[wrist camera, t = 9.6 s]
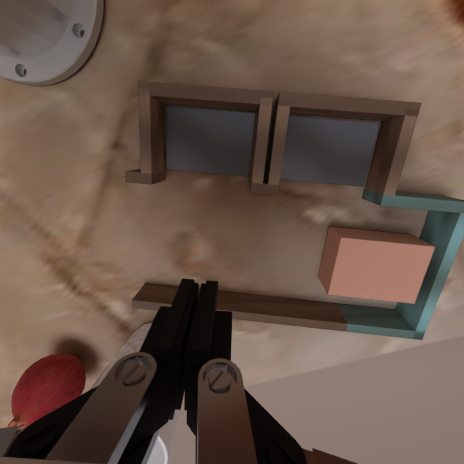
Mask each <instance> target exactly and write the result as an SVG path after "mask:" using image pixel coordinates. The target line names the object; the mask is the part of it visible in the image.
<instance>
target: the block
mask: <svg viewBox="0 0 464 464" xmlns="http://www.w3.org/2000/svg"><path fill="white" fill-rule="evenodd" d="M434 249H435V246H433V245H431V244H429V243H427V242H425V241H423V240H421V239H419V238H417V237H415V236H413V235H411V234H402V233H392V232H381V231H371V230H360V229H350V228H339V227H329V229H328V234H327V239H326V243H325V248H324V252H323V257H322V262H321V266H320V271H319V276H318V278H319V279H320V281H321V283H322V285H323V286H324V288H325V290H326V292H327V294H328V295H338V296H347V297H356V298H366V299H375V300H385V301H394V302H404V303H413V304H415V301H416V298H417V295H418V293H419V290H420V287H421V284H422V282H423V279H424V276H425V273H426V271H427V268H428V265H429V263H430V260H431V257H432V254H433V252H434Z"/></svg>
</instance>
